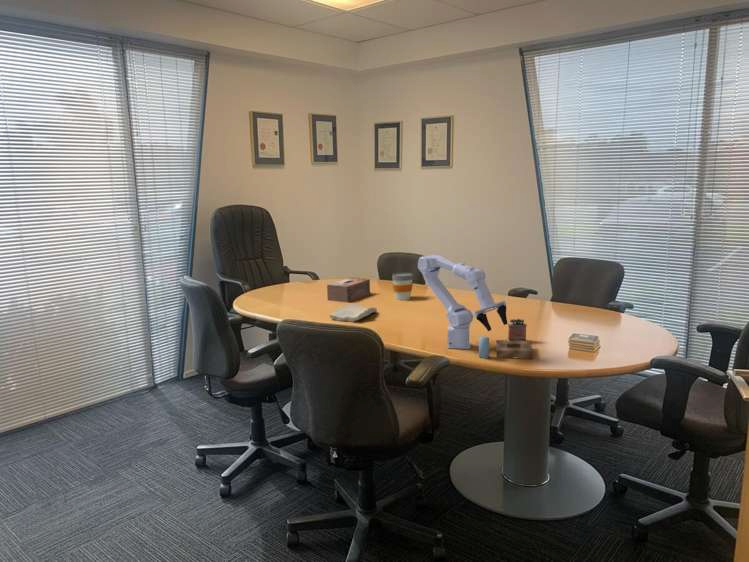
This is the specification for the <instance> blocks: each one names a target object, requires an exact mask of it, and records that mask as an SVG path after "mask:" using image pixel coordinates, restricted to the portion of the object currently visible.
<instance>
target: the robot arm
mask: <svg viewBox="0 0 749 562" xmlns="http://www.w3.org/2000/svg"><path fill="white" fill-rule="evenodd" d="M441 268H443V269H445V270H448V271H451V272H453V274H454V276H455V277H458V278H460V279H463V280H465V282H466V283H467V284H468V285H470V287H471V289H472V290H473V292H474V294H475V296H476V299H477V301H478V303H479V306H480V309H478V310H475V311H473V312H472V311H471V310H470V309H468V308H466V307H465V305H463V304H462V303H461V304H460V303H458V302H457V300H456V299H455V298H454V296H453V294H451V292H450V291H449V290H448V289H447V288H446V286H445V285H444V282H442V281H441V280H440V278H439V277H438V276H439V274H440V270H441ZM417 269H418V270H419V272H420V273H421V274H422V277H423V279H424V281H425V283H426V285H427V286H428V287H429V289H431V291H432V292H433V294H434V295H435V297H437V299H438V300H439V301H440V303H441V304H442V305H443V307H444V308H445V310H446V318H447V319H448V322H449V325H447V340H446V342H447V349H461V350H462V349H463V350H466V349H467V350H469V349H471V342H470V326H471V323H472V322H473V320H474V318H475V319H476V320H477V321H478V322H480V323H481V324H482V325H483V326H484V328H486V331H487V332H490V331H492V327H491V325H490V323H489V320H488V316H487V313H490V312H492V311H494V310H496V313H497V314H498V316H499V317H500V320H501V321H502V323H503V325H504V326H507V325H508V324H509V323H508V319H507V305H508V304H507V302H506V301H505V300H503V301H499V302H496V303H495V300H494V298H493V296H492V294H491V290H489V286H488V284H487V282H486V273H485V271H484V270H483V269H482V268H480V267H479V268H478V267H477V268H474V267H473V266H469V265H466V263H465V262H458V263H457V264H456V263H455V262H453V261H451V260H449V259H446V258H445V257H443V256H442V255H439V254H438V253H437V254H435V253H434V254H432V255H426V256H425V255H424V256H420V257H419V258H418V262H417Z"/></svg>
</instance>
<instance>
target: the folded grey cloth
mask: <svg viewBox="0 0 749 562" xmlns="http://www.w3.org/2000/svg"><path fill="white" fill-rule="evenodd" d="M377 312H378V310H377V308H376V307H375V306H374V307H373V306H370V307H366V306H363V305H360V304H358V303H353V304H349V303H348V304H345V305H342V306H340V307H337V308H336V309H335V310H334V311H333V312H332V313H331V314H329V318H330V319H332V320H334V321H337V322H351V323H354V322H358V321H359V320H361V319H363V318H365V317H367V316H369V315H371V314H375V313H377Z"/></svg>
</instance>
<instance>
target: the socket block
mask: <svg viewBox="0 0 749 562" xmlns="http://www.w3.org/2000/svg"><path fill="white" fill-rule="evenodd" d="M495 341H496V344H495V348H496V349H495V350H496V353H497V354H496V358H497V357H519V358H518V359H521V358H534V356H533V355H534V354H533V353H534V351H533V347H532V343H531V341H529V340H528V341H527V340H526V341H508V339H507V340H503V339H499V340H497V339H496V340H495Z"/></svg>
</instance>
